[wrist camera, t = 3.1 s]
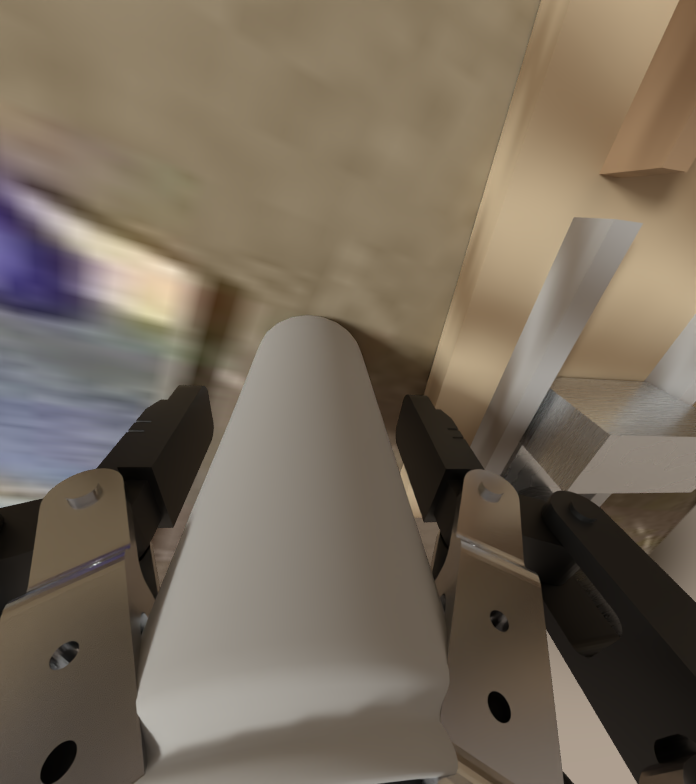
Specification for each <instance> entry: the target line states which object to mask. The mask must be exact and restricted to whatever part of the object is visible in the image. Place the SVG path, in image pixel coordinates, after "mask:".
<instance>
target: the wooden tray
mask: <svg viewBox="0 0 696 784" xmlns="http://www.w3.org/2000/svg"><path fill="white" fill-rule="evenodd" d="M556 377H563V378H582V379H601V380H620V381H639V382H648V383H650V384H652V385H653V386H655V387H657V388H659V389H661V390H663V391H665V392H667V393H668V394H670V395H672V396H674V397H676V398H678V399H680V400H682V401H684V402H685V403H687V404H689V405H691V406H692V405H693V404H694V403H695V402H696V0H541V3H540V6H539V9H538V13H537V16H536V19H535V23H534V26H533V29H532V33H531V36H530V40H529V43H528V46H527V50H526V53H525V56H524V60H523V63H522V66H521V70H520V73H519V76H518V80H517V83H516V87H515V90H514V93H513V97H512V100H511V103H510V107H509V110H508V113H507V117H506V120H505V123H504V127H503V130H502V134H501V137H500V140H499V144H498V147H497V150H496V154H495V157H494V160H493V164H492V167H491V171H490V174H489V177H488V181H487V184H486V187H485V191H484V194H483V197H482V201H481V204H480V207H479V211H478V214H477V218H476V221H475V224H474V228H473V231H472V234H471V238H470V241H469V244H468V248H467V251H466V254H465V258H464V261H463V265H462V268H461V271H460V275H459V278H458V281H457V285H456V288H455V291H454V295H453V298H452V302H451V305H450V308H449V312H448V315H447V318H446V322H445V325H444V328H443V332H442V335H441V338H440V342H439V345H438V349H437V352H436V355H435V359H434V362H433V365H432V369H431V372H430V375H429V379H428V382H427V385H426V389H425V392H424V395H426V396H428V397H429V399H430V400H431V402H432V404H433V405H434V407H435V409H441V410H442V411H443V412H444V413H446V414H447V415H448V416H449V417H451V418H452V420H453V421H454V423H455V424H456V426H457V427H458V431H460V432H461V434H462V435H463V437H464V439H465V440H466V441H467V443H468V444H469V446H470V448H471V449H472V451H473V452H474V454H475V455H476V457H477V458H478V460H479V461H480V463H481V465H482V466H483V468H484V469H485V470H488V471H491V472H493V473H496V474H498V475H499V476H500V475H501V473H502V471H503V469H504V468H505V466H506V464H507V462H508V461H509V459H510V457H511V455H512V454H513V452H514V450H515V448H516V446H517V445H518V443H519V441H520V439H521V438H522V436H523V434H524V432H525V431H526V429H527V427H528V425H529V424H530V422H531V420H532V418H533V417H534V415H535V413H536V411H537V409H538V408H539V406H540V404H541V402H542V401H543V399H544V397H545V395H546V394H547V392H548V390H549V388H550V387H551V385H552V383H553V381H554V380H555V378H556ZM400 475H401V478H402V481H403V484H404V487H405V490H406V494H407V497H408V500H409V503H410V506H411V509H412V512H413V515H414V518H415V517H422V515H421V513H420V510H419V507H418V504H417V501H416V498H415V495H414V492H413V489H412V487H411V484H410V481H409V478H408V475H407V472H406V469H405V466H404V463H403V466H402V469H401V473H400ZM611 494H612V493H593V494H579V495H581V496H583V497H585V498H587V499H589V500H590V501H592V502H593V503H595V504H596V505H597V506H599V507H600V506H601V505H602V504H603V503H604V502H605V500H606V499H607V498H608V497H609V496H610V495H611Z"/></svg>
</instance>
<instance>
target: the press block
mask: <svg viewBox="0 0 696 784" xmlns="http://www.w3.org/2000/svg"><path fill="white" fill-rule="evenodd" d="M500 476H501V477H503V478H504V479H505V480H507V481H508V482H509V483H510V484H511V485H512V486H513V487H514V489H515V490H516V492H517V494H520V495H524V496H528V497H531V498H535V499H539V500H543V501H547V500H548V499H549V498H550V496H551V495H552V494H553V493H554V492H556V491H560V490H563V491H570V492H574V493H576V494H593V493H673V492H692V491H693V490H694V489H696V408H695V407H693V406H691V405H689V404H687V403H685V402H684V401H682V400H680V399H678V398H676V397H674V396H672V395H670V394H668V393H667V392H665V391H663V390H661V389H659V388H657V387H655V386H653V385H652V384H650V383H648V382H639V381H620V380H601V379H582V378H563V377H556V378H555V380H554V381H553V383H552V385H551V387H550V388H549V390H548V392H547V394H546V395H545V397H544V399H543V401H542V402H541V404H540V406H539V408H538V409H537V411H536V413H535V415H534V417H533V418H532V420H531V422H530V424H529V425H528V427H527V429H526V431H525V432H524V434H523V436H522V438H521V439H520V441H519V443H518V445H517V446H516V448H515V450H514V452H513V454H512V455H511V457H510V459H509V461H508V462H507V464H506V466H505V468H504V469H503V471H502V473H501V475H500ZM573 576H574V577H575V579H576V580H577V581H578V583H579V584H580V585H581V587H582V588H583V589H584V591H585V592H586V593H587V595H588V596H589V597H590V599H591V600H592V601H593V603H594V604H595V605H596V607H597V608H598V609H599V611H600V612H601V613H602V615H603V616H604V617H605V619H606V620H607V621H608V623H609V624H610V625H611V627H612V628H613V629H614V631H615V632H616V633H617V635H618V636H619V637H620V638H621V636H622V626H621V623H620V621H619V618H618V617H617V615H616V613H615V612H614V611H613V609H612V608H611V607H610V605H609V604H608V603H607V602H606V600H605V599H604V598H603V596H602V595H601V594H600V593H599V591H598V590H597V589H596V588H595V586H594V585H593V584H592V582H591V581H590V580H589V579H588V577H587V576H586V575H585V574H584V572H583V571H582V570H581V568H580V569H579V570H578V571H577V572H576V573H575V574H574V575H573Z"/></svg>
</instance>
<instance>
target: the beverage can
mask: <svg viewBox="0 0 696 784" xmlns="http://www.w3.org/2000/svg"><path fill="white" fill-rule="evenodd" d="M444 616H445V612H444V609H443V606H442V602H441V599H440V596H439V593H438V590H437V587H436V584H435V581H434V578H433V574H432V571H431V568H430V565H429V562H428V559H427V556H426V553H425V550H424V546H423V543H422V540H421V537H420V534H419V531H418V528H417V525H416V522H415V518H414V515H413V512H412V509H411V506H410V503H409V500H408V497H407V494H406V490H405V487H404V484H403V481H402V478H401V475H400V472H399V469H398V466H397V462H396V459H395V456H394V453H393V450H392V447H391V444H390V441H389V438H388V434H387V431H386V428H385V425H384V422H383V419H382V416H381V413H380V409H379V406H378V403H377V400H376V397H375V394H374V391H373V388H372V385H371V381H370V378H369V375H368V372H367V369H366V366H365V363H364V360H363V357H362V354H361V351H360V349H359V346H358V344H357V342H356V340H355V339H354V338H353V336H352V335H351V334H350V333H349V331H347V330H346V329H345V328H343V327H342V326H341V325H339V324H338V323H336V322H334V321H331V320H329V319H326V318H324V317H319V316H310V315H304V316H297V317H291V318H289V319H286V320H284V321H282V322H279V323H277V324H276V325H275V326H274V327H273V328H271V329H270V330H269V331H268V332H267V333H266V334H265V336H264V338H263V340H262V341H261V343H260V345H259V348H258V350H257V353H256V355H255V358H254V360H253V363H252V366H251V368H250V371H249V373H248V376H247V378H246V381H245V383H244V386H243V388H242V391H241V394H240V396H239V399H238V401H237V404H236V406H235V409H234V411H233V414H232V416H231V419H230V421H229V424H228V426H227V428H226V431H225V433H224V436H223V438H222V440H221V443H220V445H219V447H218V450H217V452H216V455H215V457H214V459H213V462H212V464H211V467H210V469H209V471H208V474H207V476H206V479H205V481H204V483H203V486H202V488H201V490H200V493H199V495H198V498H197V500H196V502H195V505H194V507H193V510H192V512H191V514H190V517H189V519H188V521H187V524H186V526H185V529H184V531H183V534H182V536H181V538H180V541H179V543H178V546H177V548H176V551H175V553H174V556H173V558H172V560H171V563H170V565H169V568H168V570H167V573H166V575H165V578H164V580H163V583H162V585H161V587H160V590H159V592H158V595H157V597H156V600H155V602H154V605H153V607H152V610H151V612H150V615H149V617H148V620H147V622H146V625H145V627H144V630H143V632H142V635H141V639H142V641H141V649H140V657H139V664H138V672H137V699H136V708H137V714H138V716H139V718H140V723H141V727H142V732H143V736H144V740H145V745H146V750H147V757H148V763H147V768H146V772H145V775H144V776H142V777H141V778H140V779H139V780H138V781H136V782H135V783H134V784H380V783H388V782H396V781H404V780H414V779H425V778H437V777H443V776H447V775H451V774H455V773H456V772H457V769H458V760H457V755H456V752H455V749H454V746H453V744H452V742H451V739H450V738H449V736H448V734H447V732H446V730H445V729H444V727H443V726H442V724H441V722H440V712H441V706H442V702H443V700H444V697H445V695H446V692H447V690H448V686H449V683H450V679H449V669H448V665H447V628H446V622H445V617H444Z"/></svg>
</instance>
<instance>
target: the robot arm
mask: <svg viewBox="0 0 696 784" xmlns="http://www.w3.org/2000/svg"><path fill="white" fill-rule="evenodd" d="M136 421H137V422H136V423H134V424H133V425H132V426H131V428H130V429H129V432H126V434H125V435H124V436H123V437H122V438H121V440H120V441H119V442H118V443H117V444H116V446H115V447H114V448H113V449H112V450H111V452H110V453H109V454H108V455H107V456H106V458H105V459H104V460H103V461H102V462H101V464H100V465H99V466H98V467H97V468H96V469H93V470H88V471H84V472H81V473H78V474H76V475H74V476H71V477H69V478H67V479H66V480H64V481H62V482H61V483H59V484H58V485H56V486H55V487H54V488H52V489H51V490H50V491H49V492H48V493H47V495H46V496H45V497H44V498H43V499H39V500H34V501H30V502H25V503H21V504H17V505H12V506H8V507H3V508H0V784H134V783H135V782H136V781H138V780H139V779H140V778H141V777H142V776H144V775H145V772H146V768H147V763H148V757H147V750H146V745H145V740H144V736H143V732H142V727H141V723H140V718H139V716H138V714H137V708H136V699H137V672H138V664H139V657H140V649H141V641H142V639H141V635H142V632H143V630H144V627H145V625H146V622H147V620H148V617H149V615H150V612H151V610H152V607H153V605H154V602H155V600H156V597H157V595H158V592H159V590H160V583H159V577H158V572H157V566H156V560H155V554H154V549H153V545H152V542H151V540H152V538H153V536H154V534H155V532H156V530H157V528H173V527H174V525H175V523H176V520H177V518H178V516H179V513H180V511H181V509H182V507H183V504H184V502H185V500H186V498H187V495H188V493H189V491H190V488H191V486H192V484H193V482H194V479H195V477H196V475H197V472H198V470H199V468H200V466H201V463H202V461H203V459H204V457H205V454H206V452H207V450H208V447H209V445H210V443H211V440H212V437H213V429H214V425H213V418H212V412H211V407H210V401H209V395H208V391H207V388H206V387H205V386H189V385H179V386H178V387H177V388H176V390H175V391H174V392H173V394H172V395H171V396H170V397H169V399H168V400H160V401H158V402H156V403H155V404H153V405H152V406H150V407H148V408H147V409H145V411H144V412H143V413H142V414H141V415H140V417H139V418H138V419H137V420H136ZM396 443H397V446H398V449H399V452H400V455H401V458H402V461H403V463H404V466H405V469H406V472H407V475H408V478H409V481H410V484H411V487H412V489H413V492H414V495H415V498H416V501H417V504H418V507H419V510H420V513H421V515H422V518H423V521H424V522H437V524H438V527H439V529H440V530H439V532H438V534H437V537H436V542H435V547H434V552H433V556H432V561H431V566H430V568H431V571H432V574H433V578H434V581H435V584H436V587H437V590H438V593H439V596H440V599H441V602H442V606H443V609H444V612H445V616H444V617H445V622H446V628H447V665H448V669H449V679H450V683H449V686H448V690H447V692H446V695H445V697H444V700H443V702H442V706H441V712H440V722H441V724H442V726H443V727H444V729H445V730H446V732H447V734H448V736H449V738H450V739H451V742H452V744H453V746H454V749H455V752H456V755H457V760H458V769H457V772H456V773H455V774H451V775H447V776H443V777H437V778H425V779H414V780H404V781H396V782H388V783H380V784H574V783H572V781H571V780H570V779H569V778H568V777H567V775H566V774H565V773H564V772H563V771H562V764H561V756H560V746H559V738H558V730H557V720H556V712H555V703H554V694H553V686H552V677H551V668H550V660H549V651H548V642H547V634H546V630H547V631H548V633H549V635H550V636H551V638H552V640H553V641H554V643H555V645H556V647H557V648H558V650H559V651H560V653H561V655H562V657H563V658H564V660H565V662H566V663H567V665H568V667H569V668H570V670H571V672H572V674H573V675H574V677H575V679H576V680H577V682H578V684H579V685H580V687H581V689H582V690H583V692H584V694H585V695H586V697H587V699H588V701H589V702H590V704H591V706H592V707H593V709H594V711H595V712H596V714H597V716H598V718H599V719H600V721H601V723H602V724H603V726H604V728H605V729H606V731H607V733H608V734H609V736H610V738H611V739H612V741H613V743H614V745H615V746H616V748H617V750H618V751H619V753H620V755H621V756H622V758H623V760H624V761H625V763H626V765H627V767H628V768H629V770H630V772H631V773H632V775H633V777H634V778H635V780H636V781H637V783H638V784H696V602H695V601H694V600H693V599H692V598H691V597H690V596H689V595H688V594H687V593H686V592H685V591H684V590H683V589H682V588H681V587H680V586H679V585H678V584H677V583H676V582H675V581H674V580H673V579H672V578H671V577H670V576H668V574H666V572H665V571H663V569H661V568H660V567H659V565H658V564H657V563H656V562H654V561H653V560H652V559H651V558H650V557H649V556H648V555H647V554H646V553H645V552H644V551H643V550H642V549H641V548H640V547H639V546H638V545H637V544H636V543H635V542H634V541H633V540H632V539H631V538H630V537H629V536H628V535H627V534H626V533H625V532H624V531H623V530H622V529H621V528H620V527H619V526H618V525H617V524H616V523H615V522H614V521H613V520H612V519H611V518H610V517H609V516H608V515H607V514H606V513H605V512H604V511H603V510H602V509H601V508H600V507H599V506H597V505H596V504H595V503H593V502H592V501H590V500H589V499H587V498H585V497H583V496H581V495H579V494H576V493H574V492H570V491H563V490H560V491H556V492H554V493H553V494H552V495H551V496H550V498H549V499H548V500H547V501H543V500H539V499H535V498H531V497H528V496H524V495H520V494H517V492H516V490H515V489H514V487H513V486H512V485H511V484H510V483H509V482H508V481H507V480H505V479H504V478H503V477H501V476H499V475H498V474H496V473H493V472H491V471H488V470H485V469H484V468H483V466H482V465H481V463H480V461H479V460H478V458H477V457H476V455H475V454H474V452H473V451H472V449H471V448H470V446H469V444H468V443H467V441H466V440H465V439H464V437H463V435H462V434H461V432H460V431H458V427H457V426H456V424H455V423H454V421H453V420H452V418H451V417H449V416H448V415H447V414H446V413H444V412H443V411H442V410H441V409H435V407H434V405H433V404H432V402H431V400H430V399H429V397H428V396H426V395H406V396H405V397H404V400H403V404H402V408H401V412H400V415H399V419H398V423H397V427H396ZM580 568H581V570H582V571H583V572H584V574H585V575H586V576H587V577H588V579H589V580H590V581H591V582H592V584H593V585H594V586H595V588H596V589H597V590H598V591H599V593H600V594H601V595H602V596H603V598H604V599H605V600H606V602H607V603H608V604H609V605H610V607H611V608H612V609H613V611H614V612H615V613H616V615H617V617H618V618H619V621H620V623H621V626H622V636H621V638H620V637H619V636H618V635H617V633H616V632H615V631H614V629H613V628H612V627H611V625H610V624H609V623H608V621H607V620H606V619H605V617H604V616H603V615H602V613H601V612H600V611H599V609H598V608H597V607H596V605H595V604H594V603H593V601H592V600H591V599H590V597H589V596H588V595H587V593H586V592H585V591H584V589H583V588H582V587H581V585H580V584H579V583H578V581H577V580H576V579H575V577H574V576H573V575H574V574H575V573H576V572H577V571H578V570H579V569H580Z"/></svg>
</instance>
